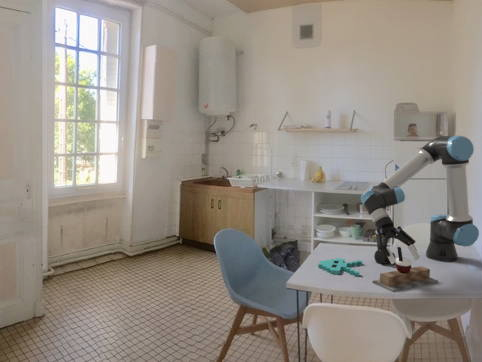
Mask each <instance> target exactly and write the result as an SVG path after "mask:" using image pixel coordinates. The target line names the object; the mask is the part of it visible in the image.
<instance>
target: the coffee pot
mask: <svg viewBox="0 0 482 362" xmlns="http://www.w3.org/2000/svg"><path fill="white" fill-rule="evenodd" d="M392 254H393V256H394V257H395V258H396V254H395V253H394V252H392ZM373 257H374V260H375V262H376V263H377V264H378V265H384V264H387V263H391V262H390V260H389V259H388V257H386V255H385V253H384V252H381V250H378V249H376V251H375V253H374V256H373ZM411 268H413V267H412V266H411Z"/></svg>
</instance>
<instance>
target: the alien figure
mask: <svg viewBox="0 0 482 362" xmlns="http://www.w3.org/2000/svg"><path fill="white" fill-rule="evenodd" d="M353 266H354V267H358V266H363V260H361V259H357V261H356V260H353V261H347V262H345V258H339V257H337V258H336V257H335V259H334V258H330V259H325V260H320V261H319V263H318V265H317V267H318V268H319V269H321V270H322V269H325V270H324V271H325V272H326V271H329V272H328V273H329V274H330V273H333V274H332V275H340V274H341V271H345V273H349V275H353V277H359V278H360V271H358V270H356V269H354V268H353V269H352V267H353Z"/></svg>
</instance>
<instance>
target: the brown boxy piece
mask: <svg viewBox="0 0 482 362" xmlns="http://www.w3.org/2000/svg"><path fill="white" fill-rule="evenodd" d="M438 282H439V281H438V279H435V278H432V277H431V270H430V268H428V267H424V266H415V267H412V268H411V269H410V271H409V272H408V273H400V272H399V271H398V270H397V269H396V270H393V271H387V272H382V273H380V274H379V279H375V280H374V279H373V280H372V283H373V284H376V285H377V286H380V287H381V288H383V289H386V290H388V291H390V292H392V293H393V292H397V291H401V290H402V291H403V290H408V289H412V288H416V287H417V288H418V287H422V286H426V285H430V284H436V283H438Z"/></svg>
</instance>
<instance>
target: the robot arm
mask: <svg viewBox="0 0 482 362" xmlns="http://www.w3.org/2000/svg"><path fill="white" fill-rule="evenodd" d="M474 149H475V148H474V144H473V142H472V140H470V139H469V138H468V137H466V136H463V135H441V136H437V137H435V138H433V139H432V140H431V141H429V142H427V143H425V145H424V146H422V147H420V148H419V149H418V151H417V152H418V153H416V154H415V155H414V156H413V157H411V158H410V159H409V160H407V162H405V163H404V164H403V165H402V166H400V167H399V168H397V169H396V170H395V171H394V172H393V173H391V174H390V175H389V176H388V177H387V178H385V179H384V180H383V181H381V182H380V183H379V184H377V185H372V186H370V187H369V189H368V190H366V191H364V192H363V193H362V194H361V195H360V201H361V204H362V205H363V207H364V209H365V210H366V212H367V213H368V214H369V216H370V219H371V220H372V222H373V223H374V225H375V227H376V230H375V231H374V234H375V237H376V238H375V239H376V246H377V247H376V248H377V249H376V250H381V252H384V253H385V255H386V257H388V259H389V260H390V262H389V263H390V264H391V265H394V264H396V259H397V258H396V256H395V257H394V256H393V254H392V253H393V251H392V250H391V249H390V247H388V242H389V239H395V240H399V242H402V244H404V245H406V246H407V249H408V251H409V252H410V254H411V255H412V257H413V259H414V260H415V261H417V260H419V259H420V257H421V256H420V254H419V253H418V250H417V248H416V246H415V245H414V244H415V243H416V242H417V241H416V240H415V239H414V238H413V237H412V236H411V235H409V234H408V233H407V232H406V231H405V230H404V229H403V228H402V227H401V226H399V225H398V227H395V225H394V222H393V219H392V218H391V216H390V215H389V213H388V212H387V210H386V209H385V208H390V207H391V206H396V205H399V204H401V203H404V201H406V200H405V199H406V195H405V192H404V191H403V189H402V188H401V187H402V186H403V185H405V183H407V182H408V181H410V179H412V178H413V177H414V176H415V175H417V174H418V173H419V172H421V171H422V170H423V169H424V168H425V167H427V166H428V165H432V164H435V162H437V161H439V160H441V166H442V167H444V168H445V175H446V176H445V177H446V189H447V202H448V204H447V207H448V214H433V215H432V216H431V217H430V221H429V222H430V225H429V227H430V228H429V229H430V231H429V232H430V233H429V243H428V246H427V249H426V251H425V257H426V258H428V259H431V260H435V261H439V262H454V261H457V260H458V258H459V257H458V253H457V249H456V246H455V245H457V246H459V247H460V246H461V247H470V246H473V244H475V242H476V241H477V240H478V238H479V235H480V231H479V229H478V227H477V226H476V225H475V224H474V221H473V220H474V219H473V217H472V216H471V215H470V214H469V213H470V212H469V211H470V210H469V201H468V200H469V198H468V182H467V170H466V169H467V168H466V167H467V165H468V164H469V163H470V159H471V158H472V156H473V154H474Z"/></svg>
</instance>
